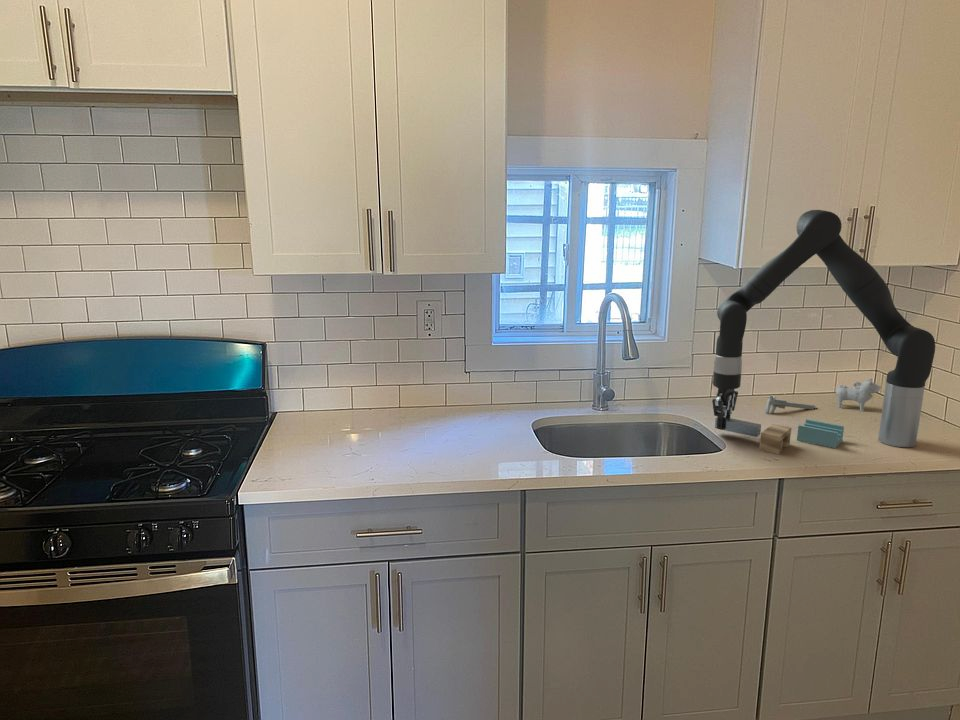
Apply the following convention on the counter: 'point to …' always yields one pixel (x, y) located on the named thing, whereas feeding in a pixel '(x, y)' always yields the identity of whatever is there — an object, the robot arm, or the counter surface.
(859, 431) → the counter surface
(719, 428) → the robot arm
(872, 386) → the dog figurine
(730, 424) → the metal bar
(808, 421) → the block
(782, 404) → the caliper
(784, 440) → the bore block
